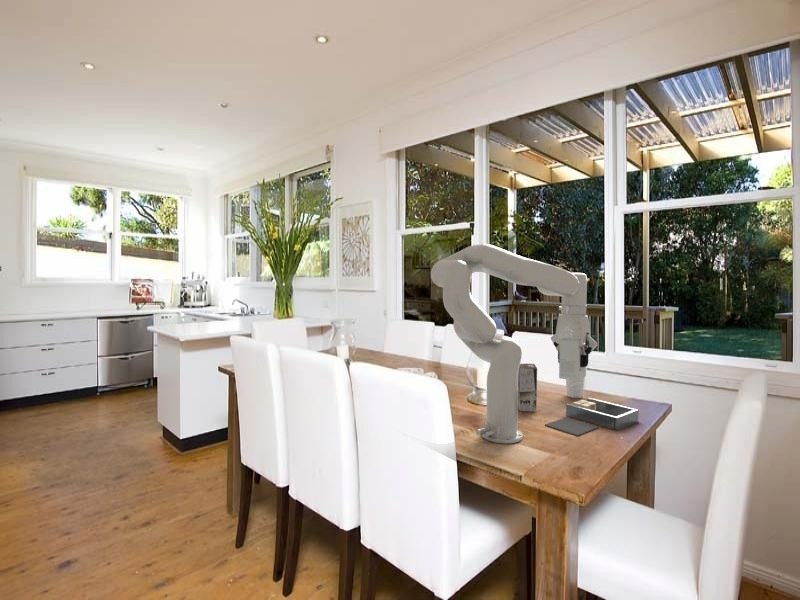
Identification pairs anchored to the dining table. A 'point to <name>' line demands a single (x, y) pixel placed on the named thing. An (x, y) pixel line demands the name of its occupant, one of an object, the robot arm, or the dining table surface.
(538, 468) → the dining table surface
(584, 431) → the mat
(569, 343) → the small box
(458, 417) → the dining table surface
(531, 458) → the dining table surface
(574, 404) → the offcut
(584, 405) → the offcut
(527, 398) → the coffee box
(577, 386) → the cup
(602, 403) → the grey tray
